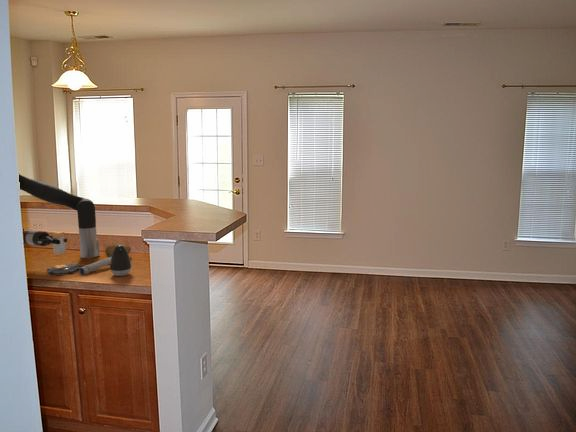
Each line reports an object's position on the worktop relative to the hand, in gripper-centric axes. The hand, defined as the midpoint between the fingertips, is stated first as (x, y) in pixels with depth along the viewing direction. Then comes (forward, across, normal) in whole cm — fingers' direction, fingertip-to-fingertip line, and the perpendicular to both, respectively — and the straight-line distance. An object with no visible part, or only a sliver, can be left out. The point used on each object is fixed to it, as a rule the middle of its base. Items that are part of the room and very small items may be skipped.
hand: (63, 241), depth 248 cm
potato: (+11, +28, +15) cm, 34 cm away
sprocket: (+1, -1, +15) cm, 15 cm away
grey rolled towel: (+17, +9, +16) cm, 25 cm away
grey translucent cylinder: (-3, 0, +6) cm, 7 cm away
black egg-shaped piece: (+33, +3, +15) cm, 37 cm away
